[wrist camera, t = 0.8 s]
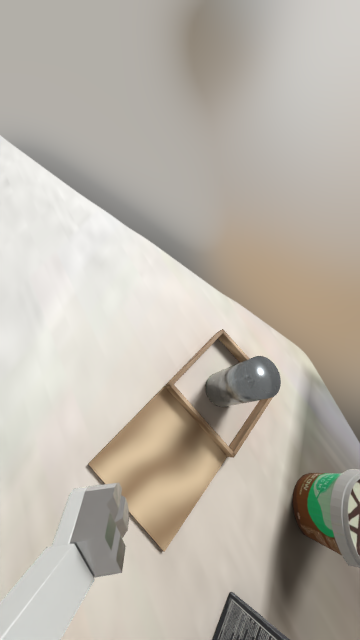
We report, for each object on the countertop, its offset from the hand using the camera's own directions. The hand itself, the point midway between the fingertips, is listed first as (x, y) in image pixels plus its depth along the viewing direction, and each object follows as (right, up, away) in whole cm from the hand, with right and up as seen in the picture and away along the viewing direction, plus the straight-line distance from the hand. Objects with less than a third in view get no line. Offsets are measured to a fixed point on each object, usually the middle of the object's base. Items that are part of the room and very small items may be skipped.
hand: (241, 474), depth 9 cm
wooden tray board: (0, -10, +32) cm, 33 cm away
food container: (+18, -23, +34) cm, 45 cm away
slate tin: (+5, -6, +35) cm, 36 cm away
